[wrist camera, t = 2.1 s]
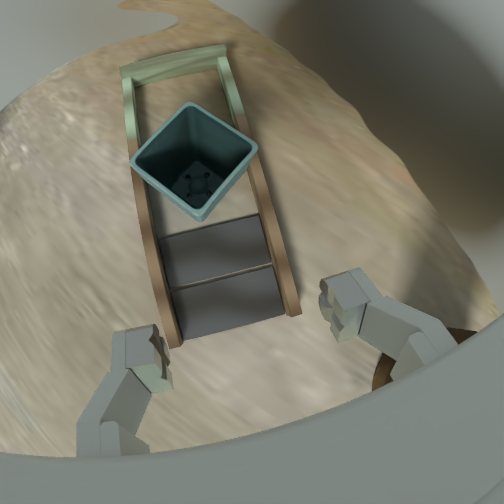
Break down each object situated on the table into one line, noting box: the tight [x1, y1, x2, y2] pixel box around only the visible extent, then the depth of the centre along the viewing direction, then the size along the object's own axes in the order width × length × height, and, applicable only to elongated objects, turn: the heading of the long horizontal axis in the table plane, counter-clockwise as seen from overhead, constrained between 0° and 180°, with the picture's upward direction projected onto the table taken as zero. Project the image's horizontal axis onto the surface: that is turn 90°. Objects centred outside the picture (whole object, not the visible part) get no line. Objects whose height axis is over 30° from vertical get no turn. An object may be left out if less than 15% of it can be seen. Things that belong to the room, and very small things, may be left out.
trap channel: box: [120, 44, 302, 349], centre depth 33 cm, size 36×14×4 cm, turn 15°
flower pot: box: [129, 101, 258, 222], centre depth 30 cm, size 9×9×9 cm
